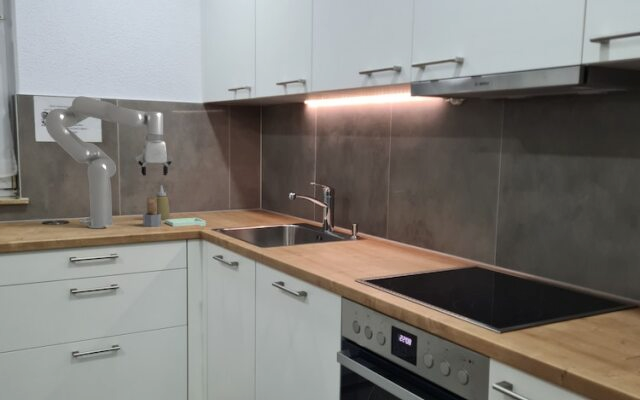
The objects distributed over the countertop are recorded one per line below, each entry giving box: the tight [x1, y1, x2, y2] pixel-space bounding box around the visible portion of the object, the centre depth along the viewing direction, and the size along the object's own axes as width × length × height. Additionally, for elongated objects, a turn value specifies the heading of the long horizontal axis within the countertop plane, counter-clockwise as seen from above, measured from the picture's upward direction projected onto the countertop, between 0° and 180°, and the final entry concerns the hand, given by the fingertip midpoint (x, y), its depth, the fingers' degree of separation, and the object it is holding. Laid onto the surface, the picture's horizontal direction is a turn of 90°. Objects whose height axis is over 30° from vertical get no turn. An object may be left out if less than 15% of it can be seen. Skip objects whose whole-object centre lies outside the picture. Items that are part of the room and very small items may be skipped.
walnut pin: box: [146, 196, 157, 215], centre depth 271 cm, size 4×4×13 cm
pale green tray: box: [164, 217, 207, 227], centre depth 280 cm, size 16×12×2 cm
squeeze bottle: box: [154, 185, 171, 221], centre depth 291 cm, size 8×8×18 cm
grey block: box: [142, 212, 162, 228], centre depth 271 cm, size 8×8×6 cm
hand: (154, 175), depth 271 cm, fingers open, 9 cm apart
